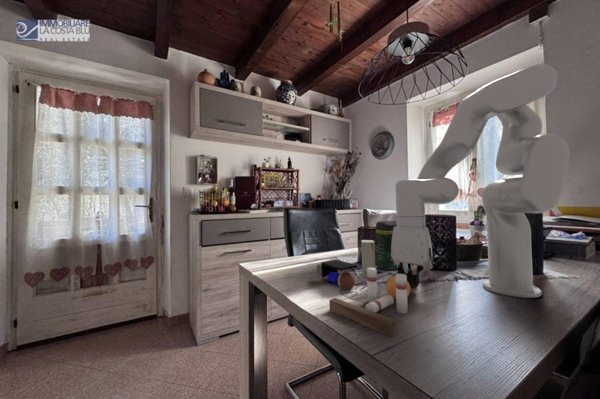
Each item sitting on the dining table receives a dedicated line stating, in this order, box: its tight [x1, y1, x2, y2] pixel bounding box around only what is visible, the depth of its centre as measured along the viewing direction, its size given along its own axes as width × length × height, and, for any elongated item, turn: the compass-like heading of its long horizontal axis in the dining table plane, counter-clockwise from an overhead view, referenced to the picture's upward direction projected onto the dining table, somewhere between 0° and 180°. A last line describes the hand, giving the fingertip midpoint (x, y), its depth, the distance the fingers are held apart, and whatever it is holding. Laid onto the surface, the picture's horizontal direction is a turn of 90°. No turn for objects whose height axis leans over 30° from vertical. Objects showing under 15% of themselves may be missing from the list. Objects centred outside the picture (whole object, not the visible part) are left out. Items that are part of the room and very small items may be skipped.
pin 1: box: [366, 267, 378, 303], centre depth 64 cm, size 2×2×8 cm
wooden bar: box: [328, 297, 397, 338], centre depth 54 cm, size 2×16×2 cm, turn 40°
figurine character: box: [316, 259, 358, 290], centre depth 79 cm, size 7×8×15 cm
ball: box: [385, 275, 411, 300], centre depth 65 cm, size 6×6×6 cm
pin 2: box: [395, 273, 409, 315], centre depth 58 cm, size 2×2×8 cm
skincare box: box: [360, 239, 376, 279], centre depth 87 cm, size 6×4×12 cm
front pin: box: [364, 294, 395, 313], centre depth 59 cm, size 2×2×8 cm
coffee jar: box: [375, 220, 398, 271], centre depth 96 cm, size 10×8×19 cm
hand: (412, 286), depth 70 cm, fingers closed
